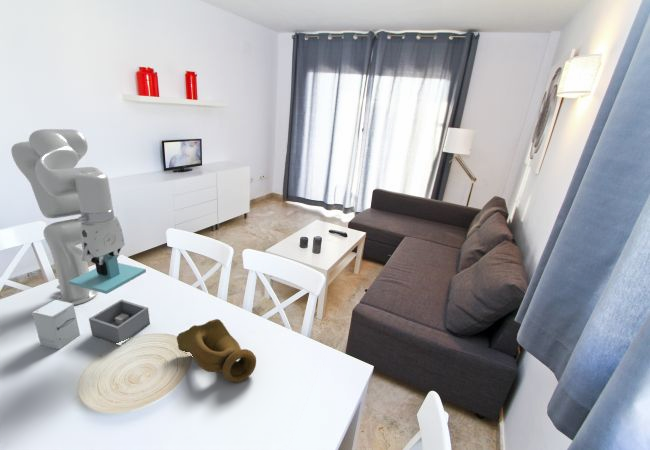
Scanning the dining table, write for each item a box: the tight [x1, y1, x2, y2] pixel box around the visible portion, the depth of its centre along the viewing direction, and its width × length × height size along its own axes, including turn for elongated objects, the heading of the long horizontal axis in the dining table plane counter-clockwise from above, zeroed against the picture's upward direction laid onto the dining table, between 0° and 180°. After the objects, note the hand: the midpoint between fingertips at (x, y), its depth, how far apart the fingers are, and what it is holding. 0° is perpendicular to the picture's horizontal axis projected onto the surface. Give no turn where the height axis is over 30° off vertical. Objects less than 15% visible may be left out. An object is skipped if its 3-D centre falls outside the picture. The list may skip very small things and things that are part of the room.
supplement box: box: [31, 299, 81, 350], centre depth 99 cm, size 7×7×13 cm
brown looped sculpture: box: [176, 318, 257, 383], centre depth 97 cm, size 18×13×22 cm
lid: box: [69, 254, 147, 295], centre depth 95 cm, size 14×14×8 cm
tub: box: [88, 299, 151, 345], centre depth 107 cm, size 12×12×7 cm
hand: (108, 271), depth 96 cm, fingers closed on lid, 3 cm apart
